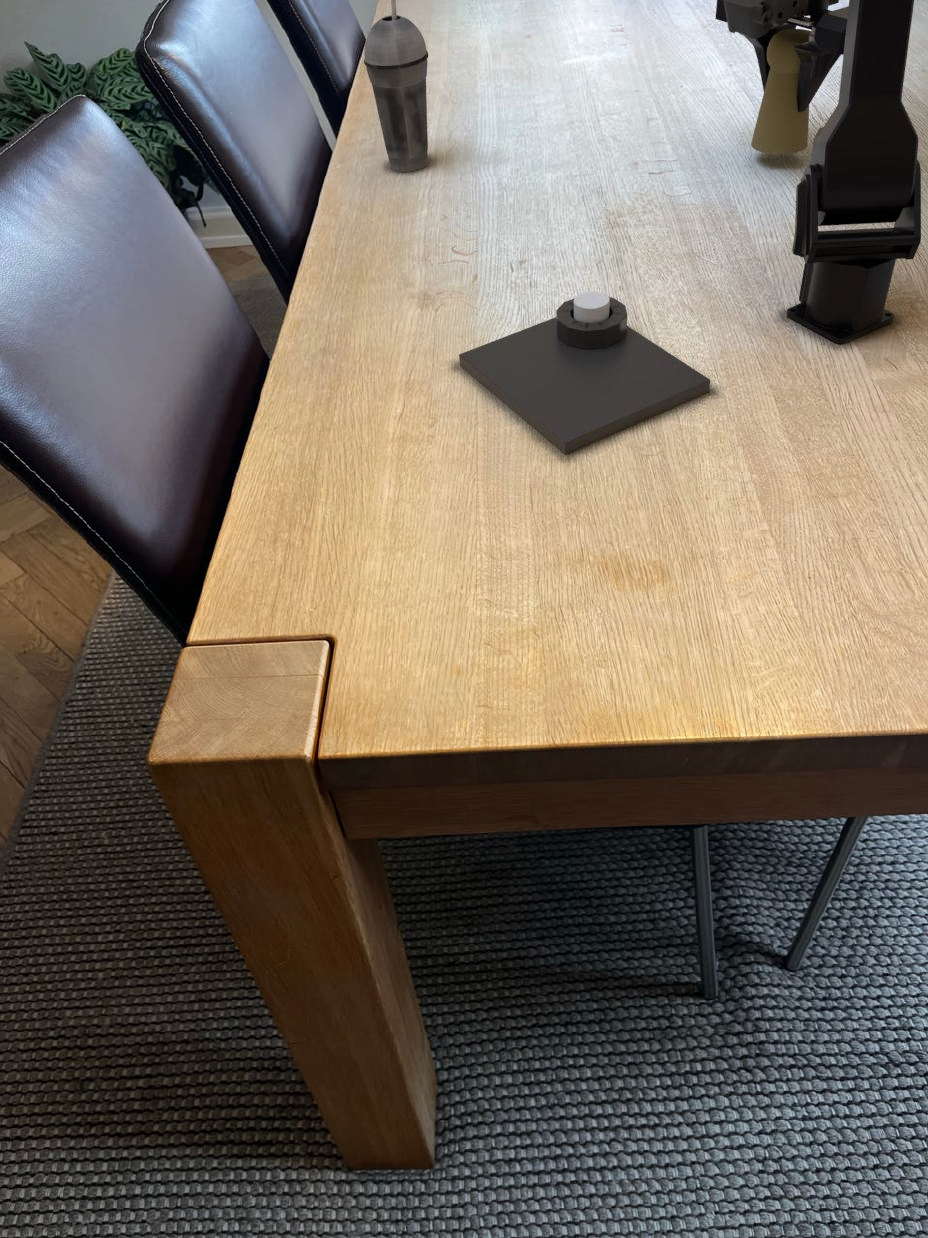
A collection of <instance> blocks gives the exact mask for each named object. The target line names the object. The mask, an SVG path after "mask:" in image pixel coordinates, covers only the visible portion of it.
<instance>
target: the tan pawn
mask: <svg viewBox="0 0 928 1238" xmlns="http://www.w3.org/2000/svg"><path fill="white" fill-rule="evenodd" d="M809 35H811V30H810V29H805V28H796V29H788V30H783V31H780V32H778V33H777V34H775V35H774V36H773V37H772V39H771V40H770V42H769V45H768V48H767V62H768V64H769V66H770V71H769V75H768V79H767V83H766V87H765V91H764V90H763V94H762V99H761V103H760V107H759V111H758V114H757V118H756V121H755V122H756V123H755V126H754V131H753V135H752V137H751V142H750V145H751V148H753V150H755V151H757V152H759V153H762V154H768V155H778V156H779V155H790V154H796V153H799V152H802V151H804V150H805V149H807V147H808V145H809V123H810V105H809V106H808V107H807V109H806V110H805V111H803V112H798V107H797V88H798V79H799V71H800V62H801V61H800V58H799V56H798V55H797V53H796V51H795V49H794V46H796V45H799V44H802V43H805V42H809Z"/></svg>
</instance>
